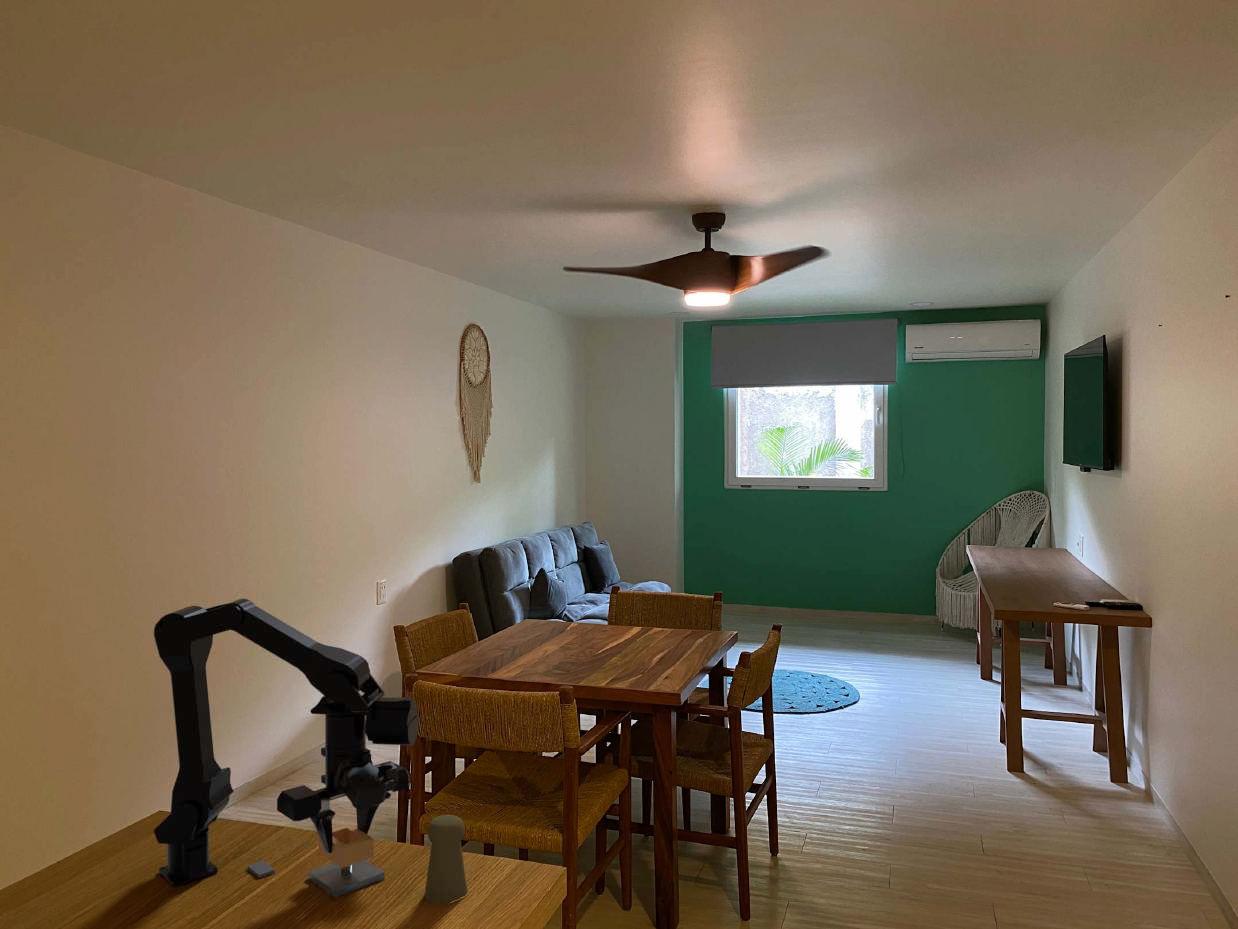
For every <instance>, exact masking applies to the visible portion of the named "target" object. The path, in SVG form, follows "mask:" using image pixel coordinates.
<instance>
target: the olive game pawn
mask: <svg viewBox="0 0 1238 929" xmlns="http://www.w3.org/2000/svg"><path fill="white" fill-rule="evenodd" d="M428 824H429V825H428V826H427V837H428V840H429V841H430V844H431V845H430V852H429V853H430V854H429V860H428V867H427V868H428V870H427V875H426V881H425V882H426V883H425V888H424V889H425V891H424V898H425V900H427V901H428V902H430V903H431V904H436V905H447V904H446V903H450V902H452V901H454V900H458V899H460V898H461V897H463V896H465V895H466V893H467V894H468V889H467V888H468V887H467V881H466V880H467V879H466V878H467V877H466V871H465V865H464V864H465V863H464V857H463V849H462V840H463V838H464V835H465V833H466V832H465V823H464V821H463V820H462V818H460V817H459V816H456V815H455V814H454V815H453V814H443V815H442V814H441V815H439V816H436V817H435V818H433V819H431V820H430V823H428ZM466 896H467V895H466Z"/></svg>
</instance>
